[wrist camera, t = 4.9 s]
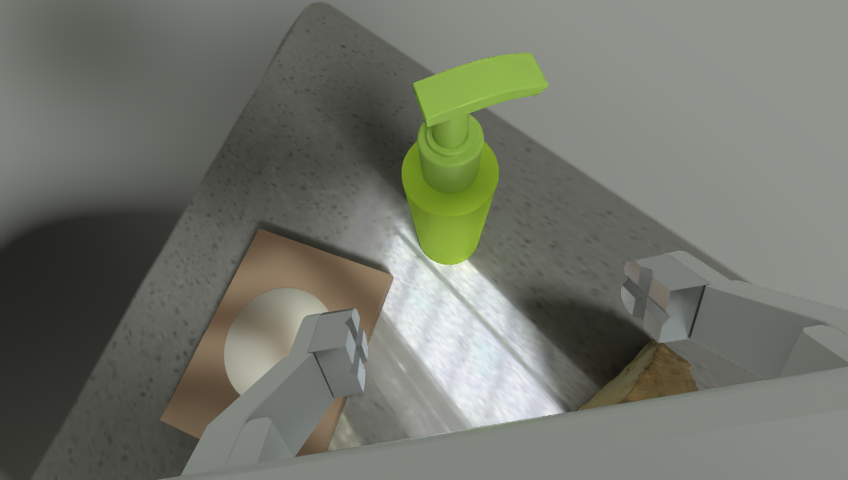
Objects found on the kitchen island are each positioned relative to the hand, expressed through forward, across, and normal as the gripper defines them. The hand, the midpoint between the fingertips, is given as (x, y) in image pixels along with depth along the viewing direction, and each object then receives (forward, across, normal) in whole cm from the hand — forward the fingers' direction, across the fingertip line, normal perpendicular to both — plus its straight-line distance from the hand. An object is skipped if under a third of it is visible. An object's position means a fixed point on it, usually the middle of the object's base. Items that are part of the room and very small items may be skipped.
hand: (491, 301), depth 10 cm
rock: (+9, -12, +21) cm, 26 cm away
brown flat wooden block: (+15, +16, +14) cm, 26 cm away
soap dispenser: (+21, -1, +9) cm, 23 cm away
